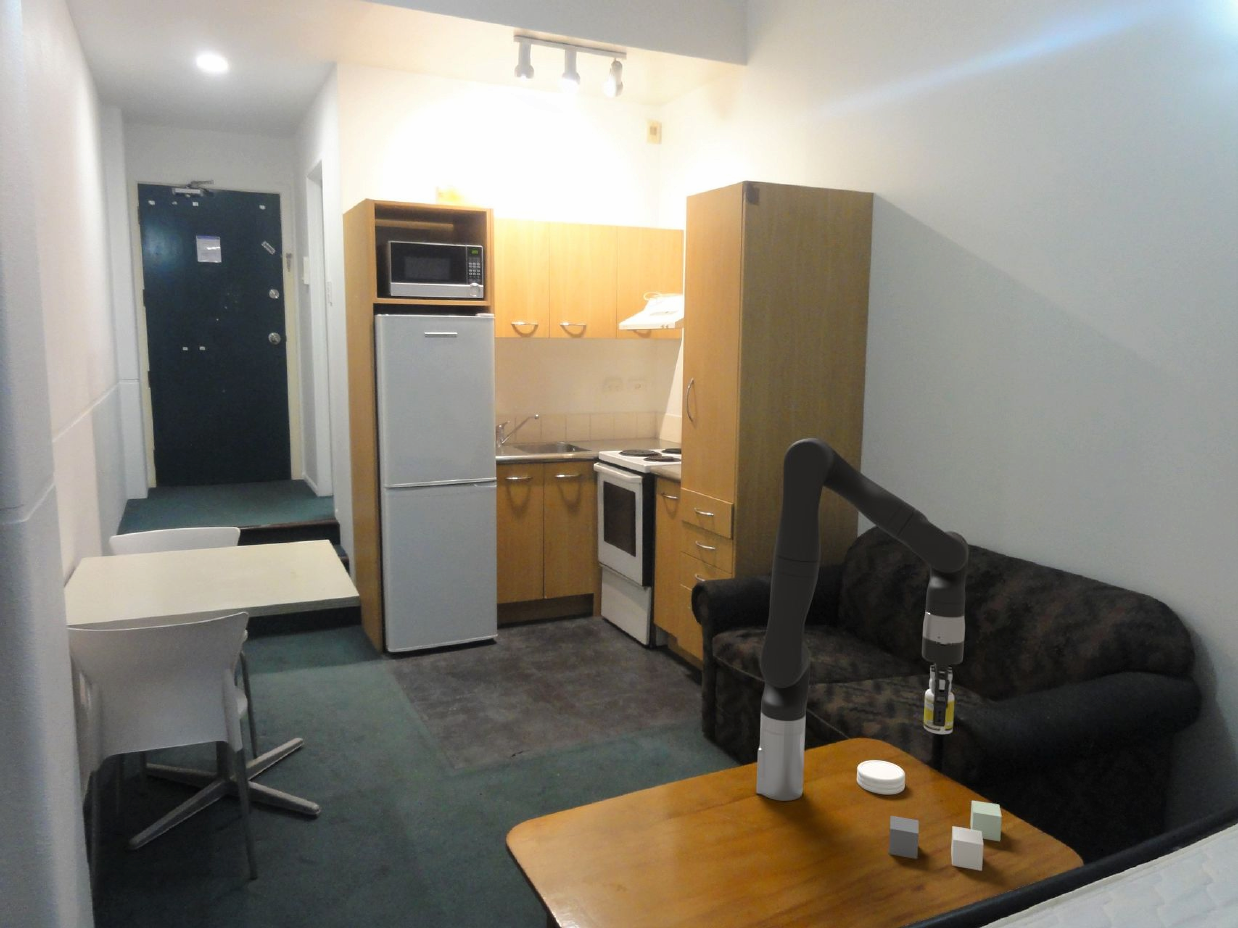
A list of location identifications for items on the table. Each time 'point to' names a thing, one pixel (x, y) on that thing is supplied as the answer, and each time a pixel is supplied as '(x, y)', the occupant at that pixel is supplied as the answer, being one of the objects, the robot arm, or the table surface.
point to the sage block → (986, 819)
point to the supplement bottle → (929, 713)
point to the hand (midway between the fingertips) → (938, 719)
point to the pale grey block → (967, 848)
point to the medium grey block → (903, 837)
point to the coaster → (881, 777)
